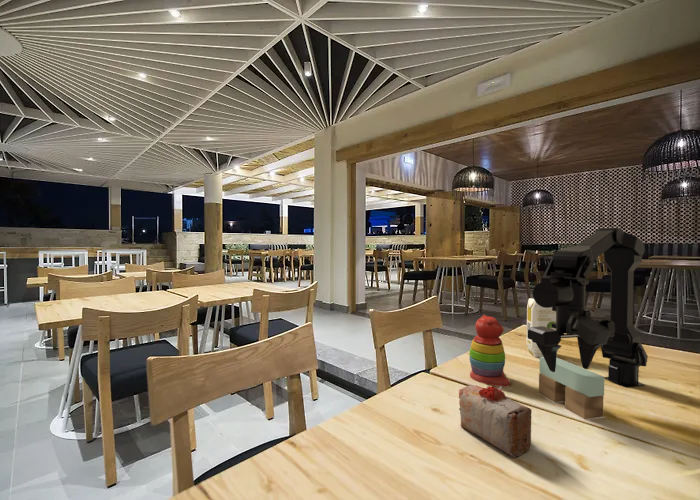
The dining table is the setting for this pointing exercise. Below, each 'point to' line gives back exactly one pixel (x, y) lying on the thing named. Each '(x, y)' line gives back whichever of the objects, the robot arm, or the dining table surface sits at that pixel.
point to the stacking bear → (488, 353)
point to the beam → (574, 377)
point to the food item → (496, 418)
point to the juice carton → (538, 323)
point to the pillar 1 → (551, 388)
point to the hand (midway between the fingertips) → (569, 370)
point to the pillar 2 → (583, 404)
